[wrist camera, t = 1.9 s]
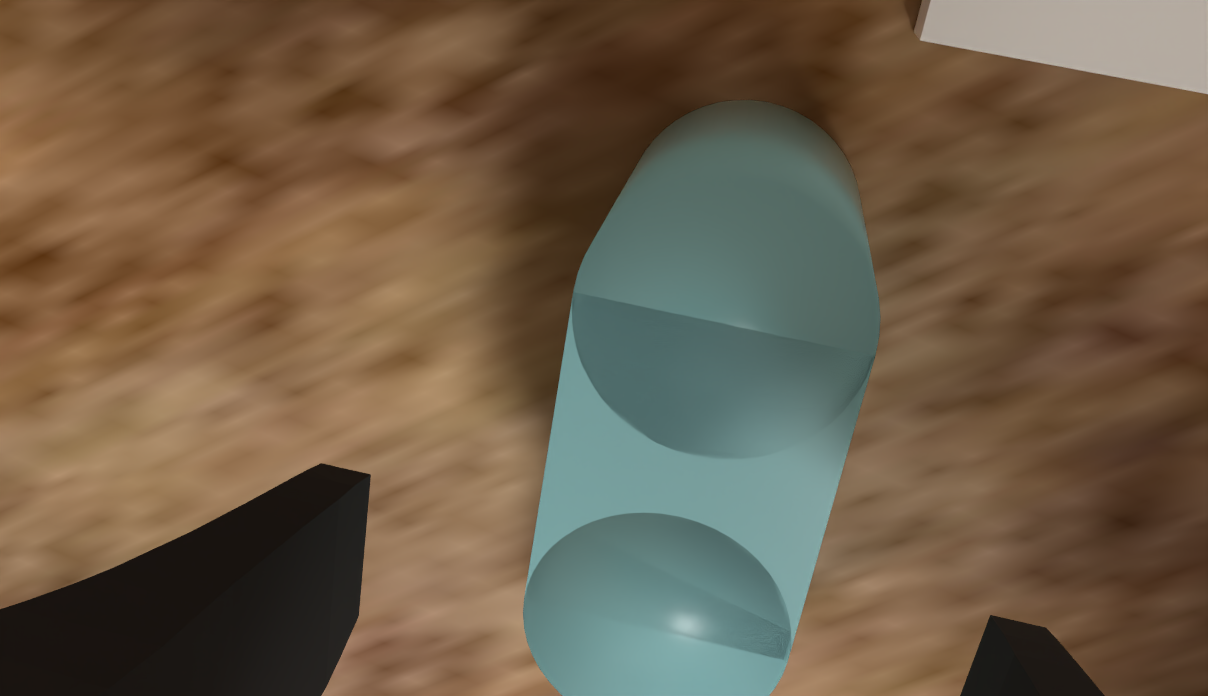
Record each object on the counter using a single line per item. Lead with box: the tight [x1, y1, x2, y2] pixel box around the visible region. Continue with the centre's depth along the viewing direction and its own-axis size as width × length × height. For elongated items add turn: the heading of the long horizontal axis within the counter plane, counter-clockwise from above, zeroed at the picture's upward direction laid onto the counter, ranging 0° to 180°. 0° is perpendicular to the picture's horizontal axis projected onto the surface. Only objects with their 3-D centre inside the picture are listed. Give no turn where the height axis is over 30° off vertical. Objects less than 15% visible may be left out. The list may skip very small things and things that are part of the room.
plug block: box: [523, 100, 880, 696], centre depth 18 cm, size 4×11×5 cm, turn 171°
